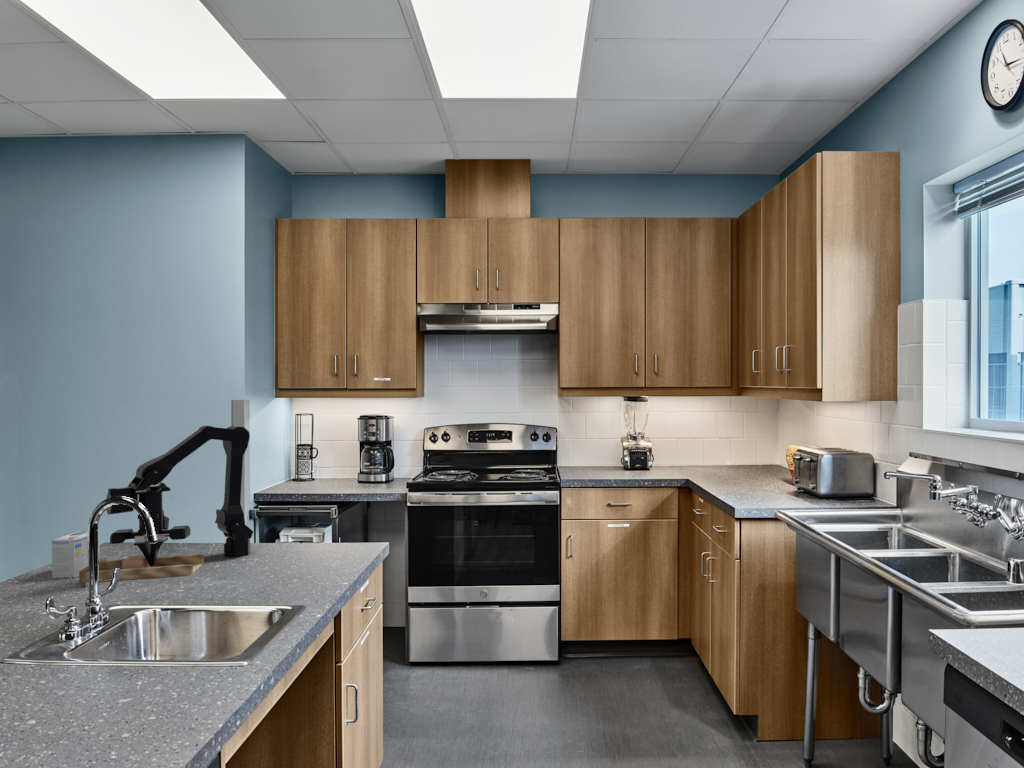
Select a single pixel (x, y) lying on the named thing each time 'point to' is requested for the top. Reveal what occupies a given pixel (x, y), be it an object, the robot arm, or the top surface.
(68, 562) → the light bulb box
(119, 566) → the frame
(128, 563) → the terracotta block
